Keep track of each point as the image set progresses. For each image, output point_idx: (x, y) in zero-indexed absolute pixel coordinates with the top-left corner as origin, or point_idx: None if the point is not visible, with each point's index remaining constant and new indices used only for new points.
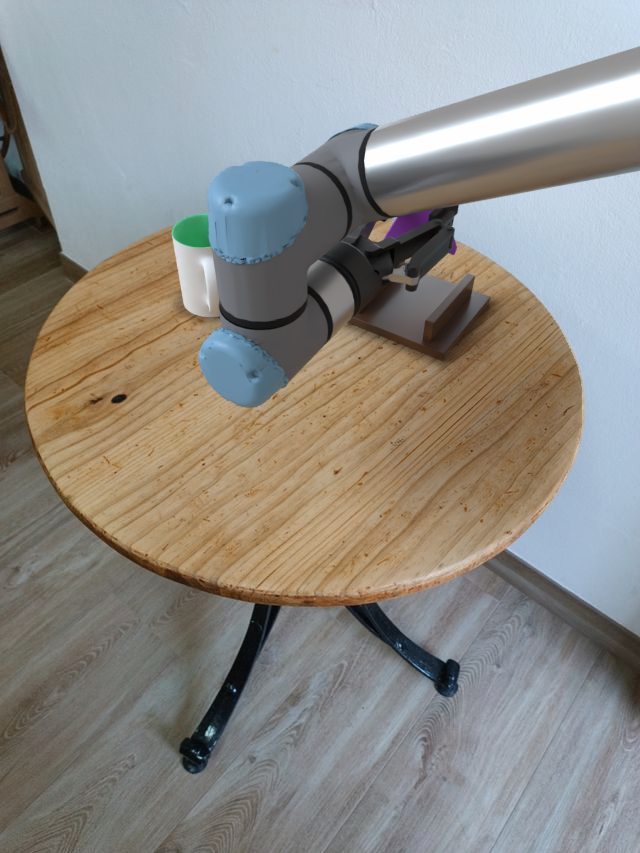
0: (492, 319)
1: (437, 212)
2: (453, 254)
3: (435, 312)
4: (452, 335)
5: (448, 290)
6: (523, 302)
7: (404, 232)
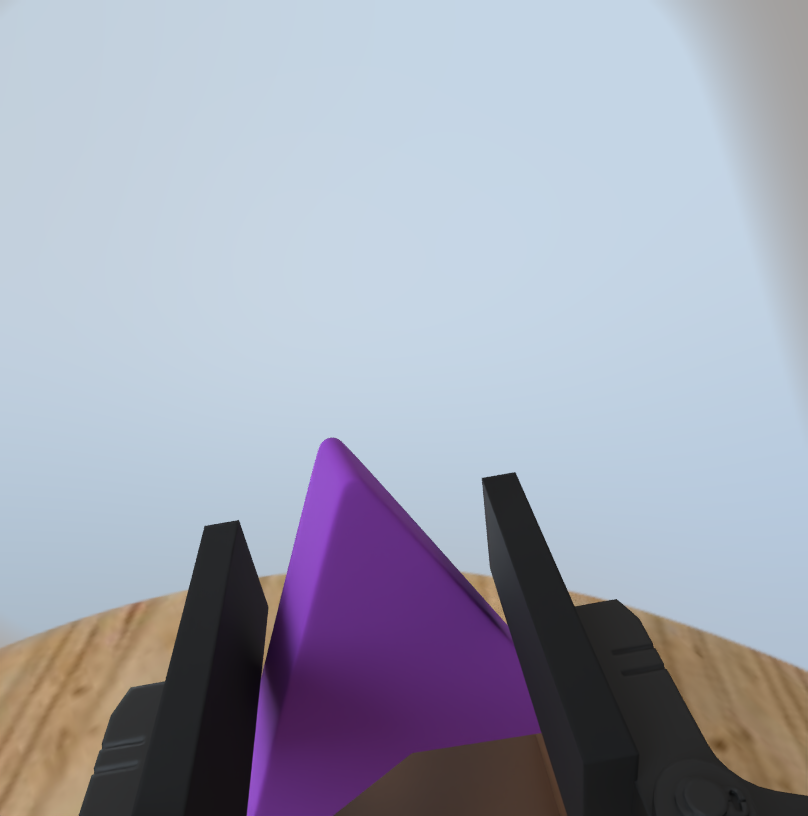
0: None
1: (602, 699)
2: None
3: None
4: None
5: (493, 755)
6: (661, 637)
7: (333, 790)
